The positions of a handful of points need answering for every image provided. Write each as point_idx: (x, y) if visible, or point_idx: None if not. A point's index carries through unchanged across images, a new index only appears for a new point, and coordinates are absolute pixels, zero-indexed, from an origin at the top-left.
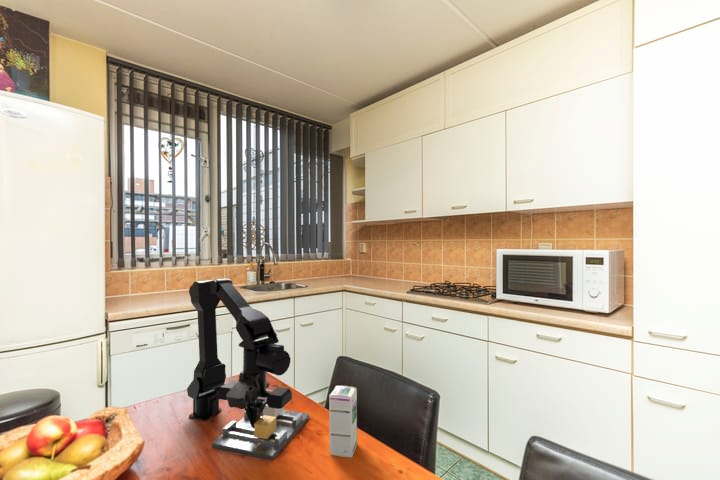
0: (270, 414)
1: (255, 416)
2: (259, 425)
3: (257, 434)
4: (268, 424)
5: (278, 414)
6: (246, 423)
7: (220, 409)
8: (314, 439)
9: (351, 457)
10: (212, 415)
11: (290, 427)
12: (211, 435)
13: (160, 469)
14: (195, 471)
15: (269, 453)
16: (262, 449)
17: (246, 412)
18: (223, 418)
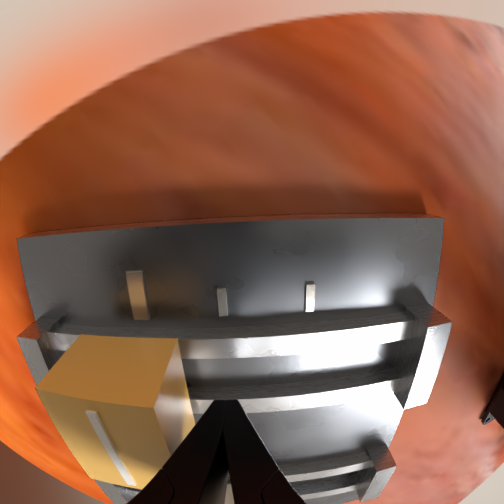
0: (230, 499)
1: (165, 474)
2: (100, 396)
3: (143, 349)
4: (46, 408)
5: None
6: (354, 428)
7: (485, 420)
8: (22, 401)
9: None
10: (501, 386)
11: None
12: (471, 300)
13: (481, 39)
14: (359, 24)
15: (34, 250)
16: (84, 269)
17: (294, 496)
18: (464, 401)
